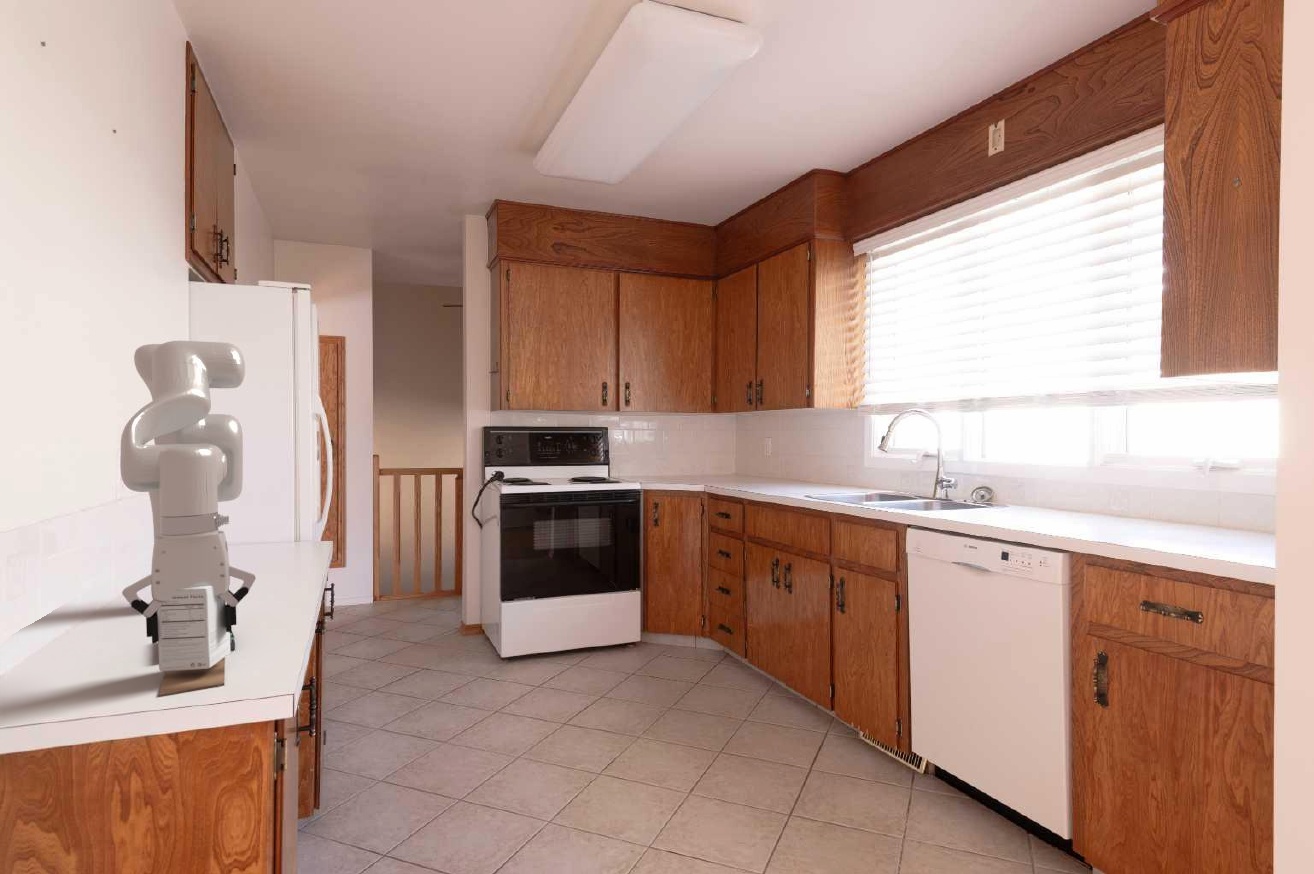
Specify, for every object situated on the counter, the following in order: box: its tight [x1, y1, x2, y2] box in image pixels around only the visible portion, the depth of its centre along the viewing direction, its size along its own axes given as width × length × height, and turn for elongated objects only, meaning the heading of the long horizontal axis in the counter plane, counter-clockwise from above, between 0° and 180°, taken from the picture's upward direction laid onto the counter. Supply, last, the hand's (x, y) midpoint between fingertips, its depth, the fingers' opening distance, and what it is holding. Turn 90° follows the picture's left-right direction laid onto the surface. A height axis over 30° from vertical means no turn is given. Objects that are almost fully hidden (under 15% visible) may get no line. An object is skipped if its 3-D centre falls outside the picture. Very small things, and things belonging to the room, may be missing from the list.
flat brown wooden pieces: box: [158, 656, 226, 697], centre depth 121 cm, size 41×8×1 cm, turn 31°
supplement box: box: [157, 585, 232, 672], centre depth 111 cm, size 7×7×13 cm
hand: (193, 635), depth 110 cm, fingers closed on supplement box, 9 cm apart
